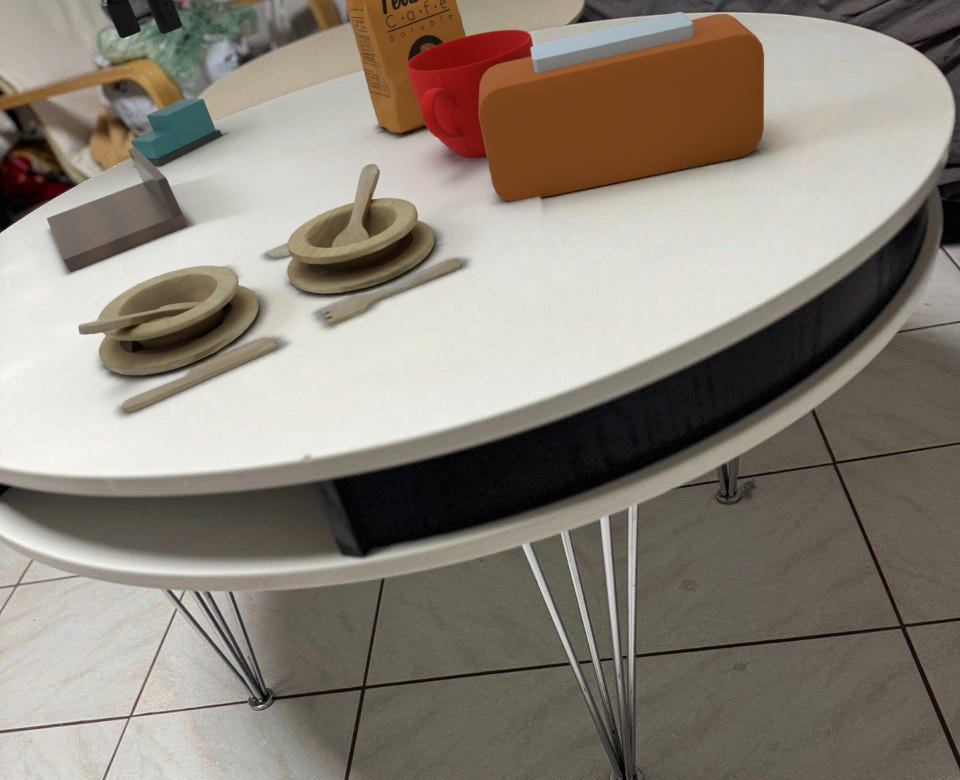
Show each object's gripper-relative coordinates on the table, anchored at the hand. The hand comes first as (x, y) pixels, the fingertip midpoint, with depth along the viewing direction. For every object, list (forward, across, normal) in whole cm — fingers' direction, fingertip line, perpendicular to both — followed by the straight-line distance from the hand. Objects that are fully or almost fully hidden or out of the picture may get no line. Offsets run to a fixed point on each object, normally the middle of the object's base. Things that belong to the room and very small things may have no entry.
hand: (151, 32), depth 107 cm
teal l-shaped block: (+15, -1, -2) cm, 15 cm away
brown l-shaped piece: (+15, +16, -24) cm, 33 cm away
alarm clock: (+15, +68, 0) cm, 70 cm away
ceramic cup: (+15, +51, +1) cm, 53 cm away
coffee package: (+15, +35, +10) cm, 40 cm away
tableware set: (+15, +52, -30) cm, 62 cm away
